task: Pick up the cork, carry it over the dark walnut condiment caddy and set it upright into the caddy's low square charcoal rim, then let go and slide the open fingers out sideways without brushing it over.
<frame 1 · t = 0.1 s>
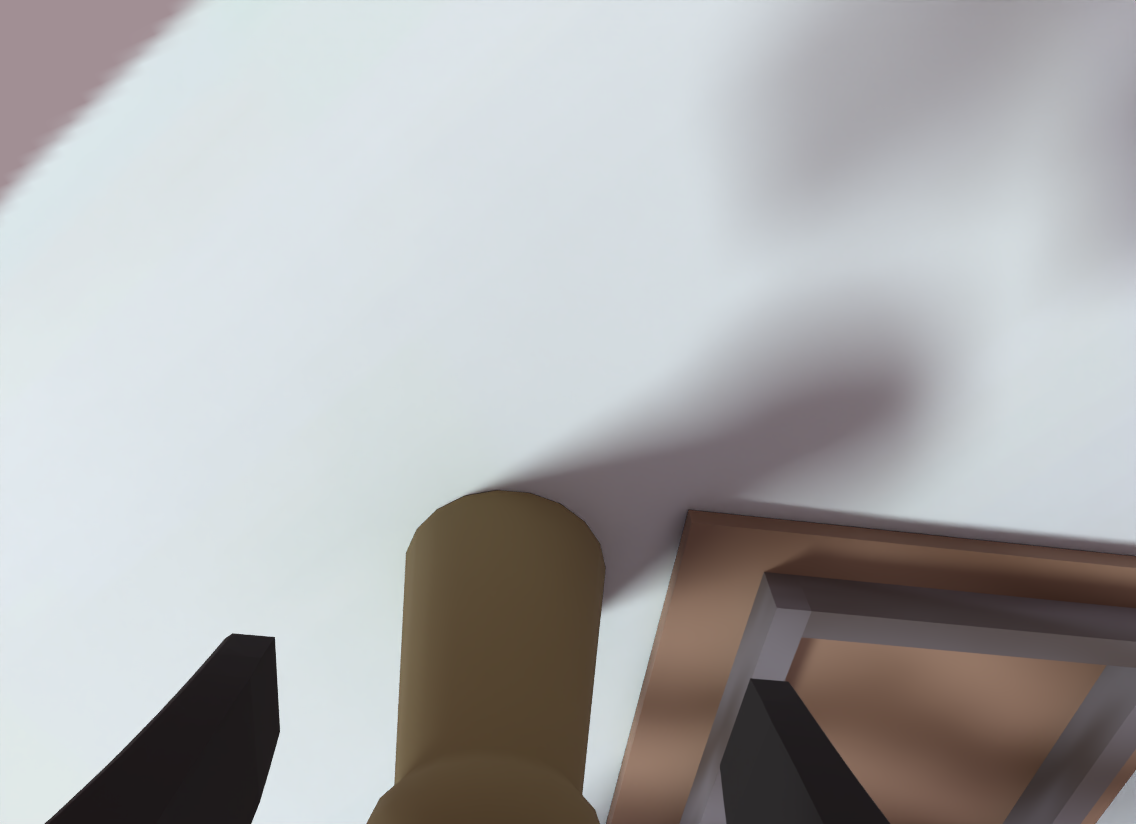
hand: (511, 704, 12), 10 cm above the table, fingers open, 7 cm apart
cork: (505, 568, 24), on the table
caddy: (893, 722, 27), on the table
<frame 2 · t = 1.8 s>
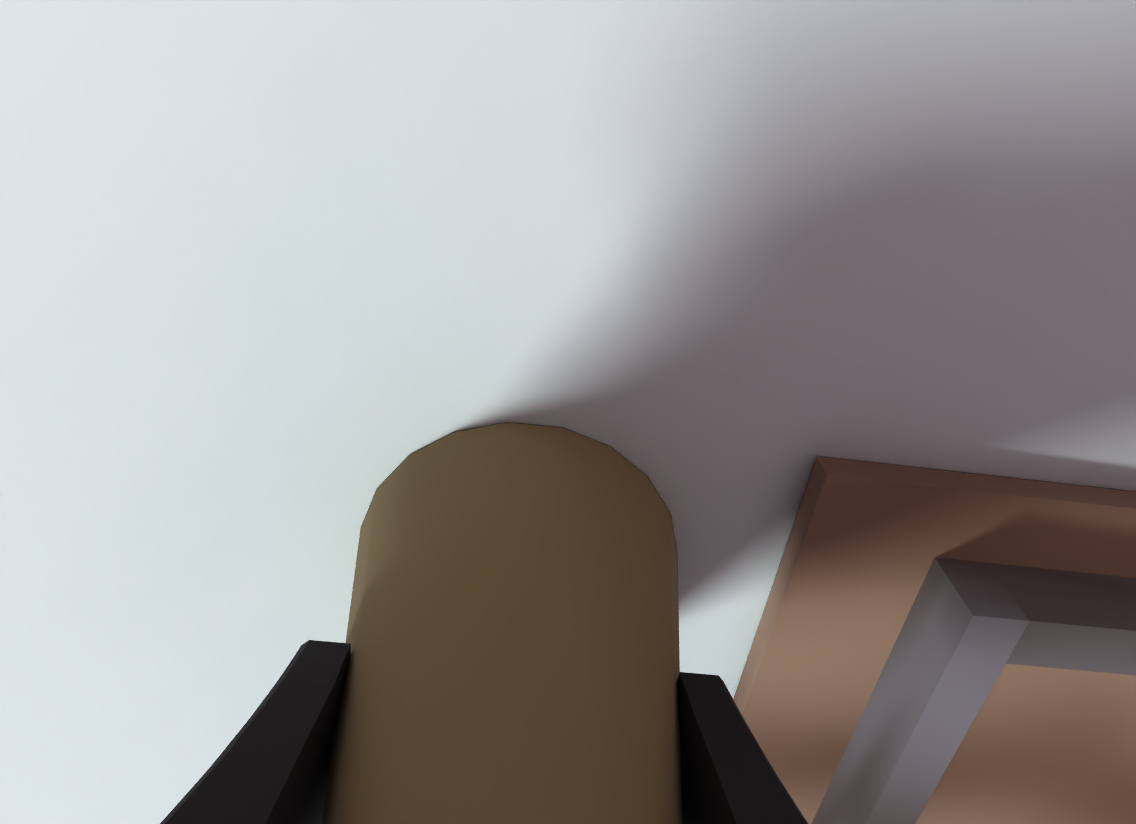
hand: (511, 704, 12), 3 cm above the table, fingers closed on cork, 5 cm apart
cork: (519, 553, 15), on the table, touching gripper
caddy: (1086, 782, 19), on the table
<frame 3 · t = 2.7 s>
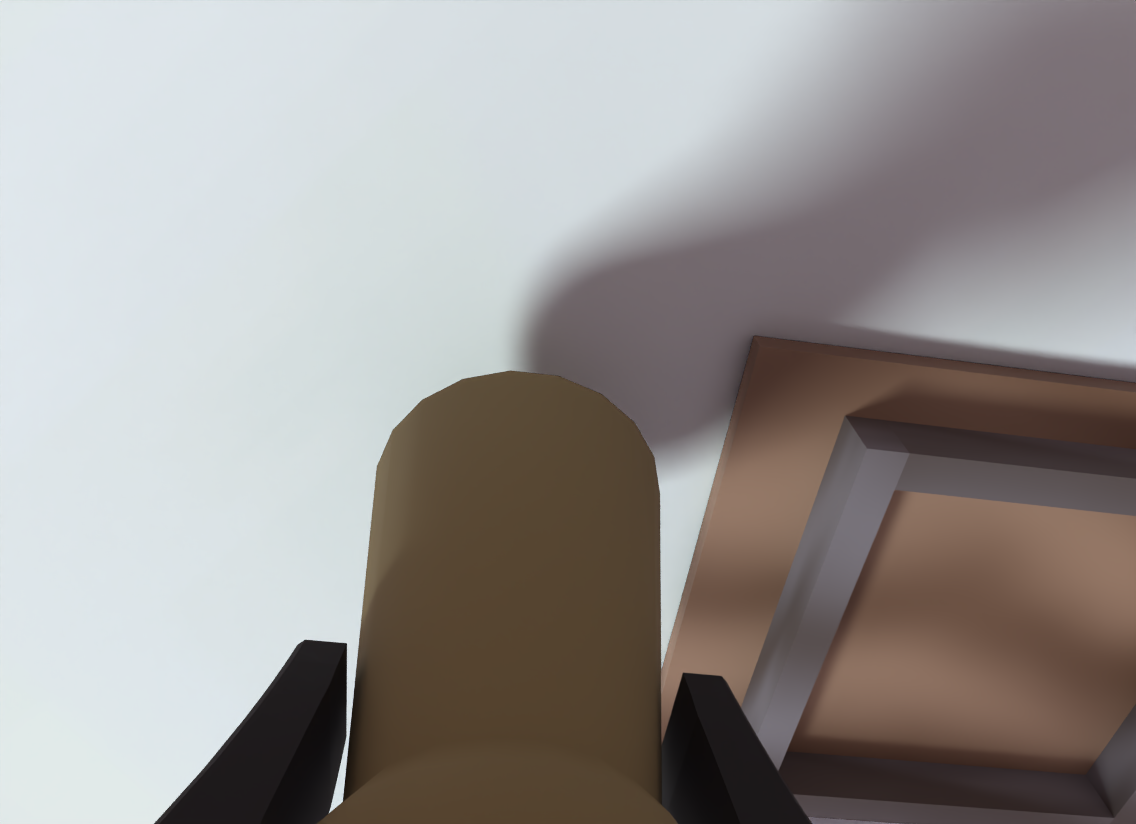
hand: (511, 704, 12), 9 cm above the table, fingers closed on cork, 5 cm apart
cork: (518, 493, 17), point 3 cm above the table, touching gripper
caddy: (983, 621, 23), on the table
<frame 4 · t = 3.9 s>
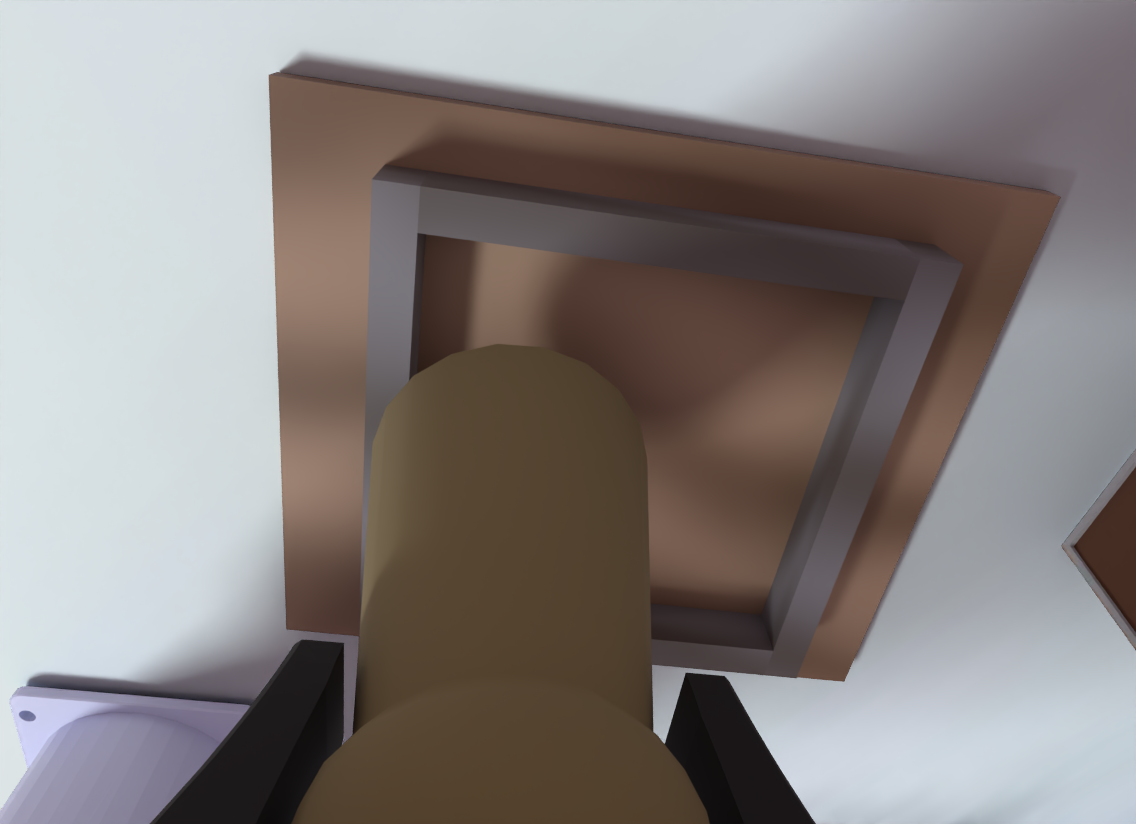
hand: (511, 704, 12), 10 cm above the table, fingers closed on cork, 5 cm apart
cork: (510, 464, 17), point 4 cm above the table, touching gripper
caddy: (616, 432, 22), on the table
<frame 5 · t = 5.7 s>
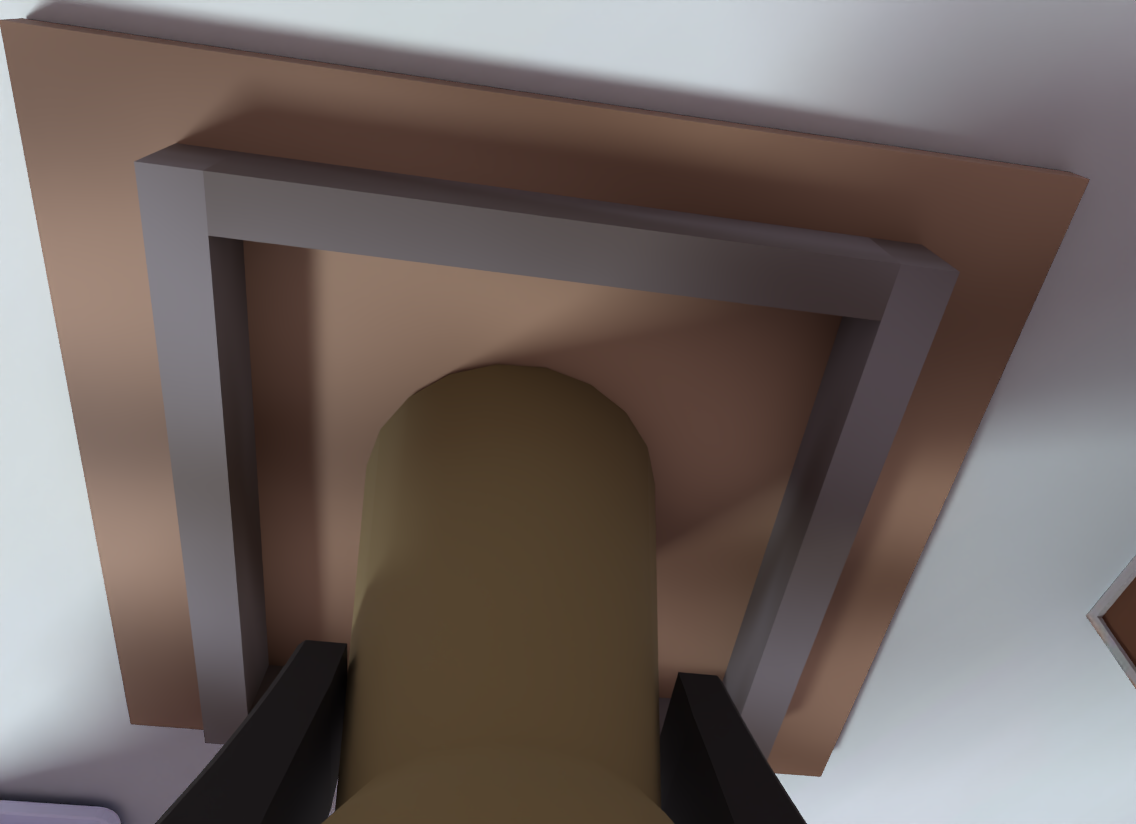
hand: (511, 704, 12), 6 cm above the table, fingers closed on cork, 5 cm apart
cork: (511, 488, 17), resting on caddy, touching gripper
caddy: (523, 485, 17), on the table
when the fingers open (6 cm above the table, at t = 6.1 s): cork stays where it is, resting on caddy.
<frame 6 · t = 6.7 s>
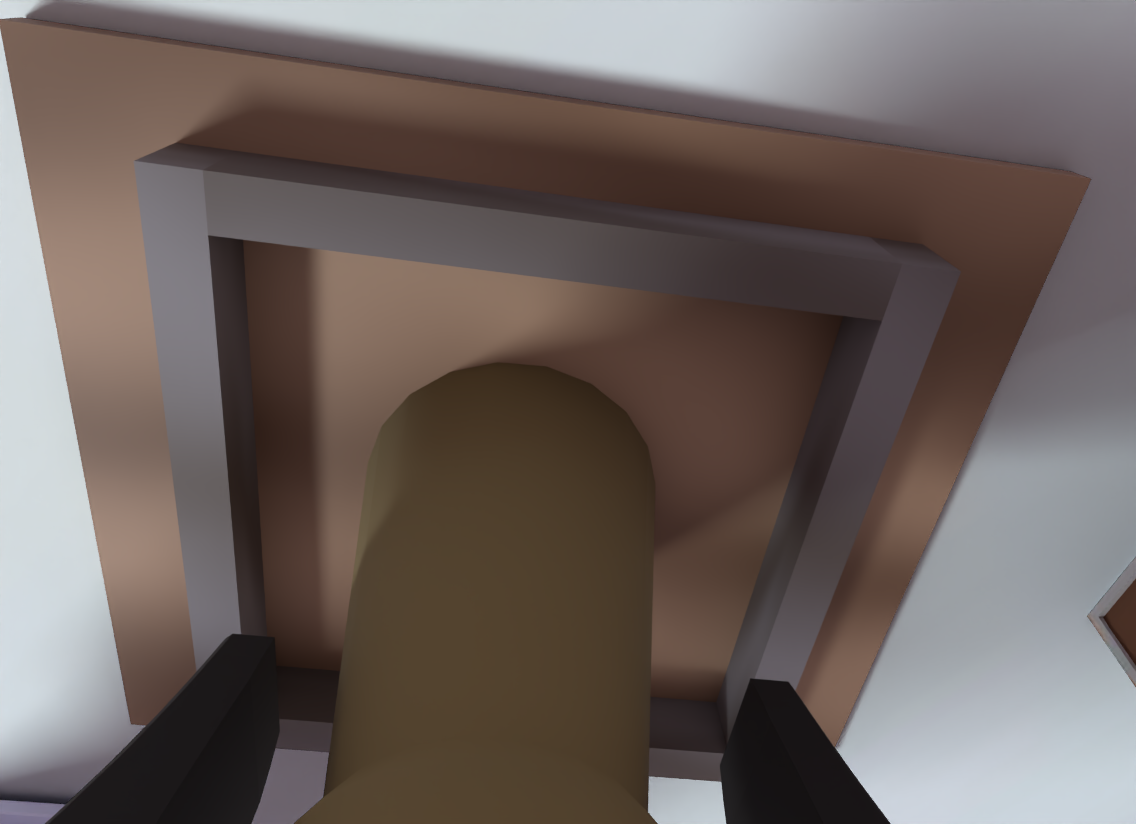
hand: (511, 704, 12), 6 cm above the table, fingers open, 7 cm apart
cork: (512, 486, 17), resting on caddy
caddy: (523, 485, 17), on the table
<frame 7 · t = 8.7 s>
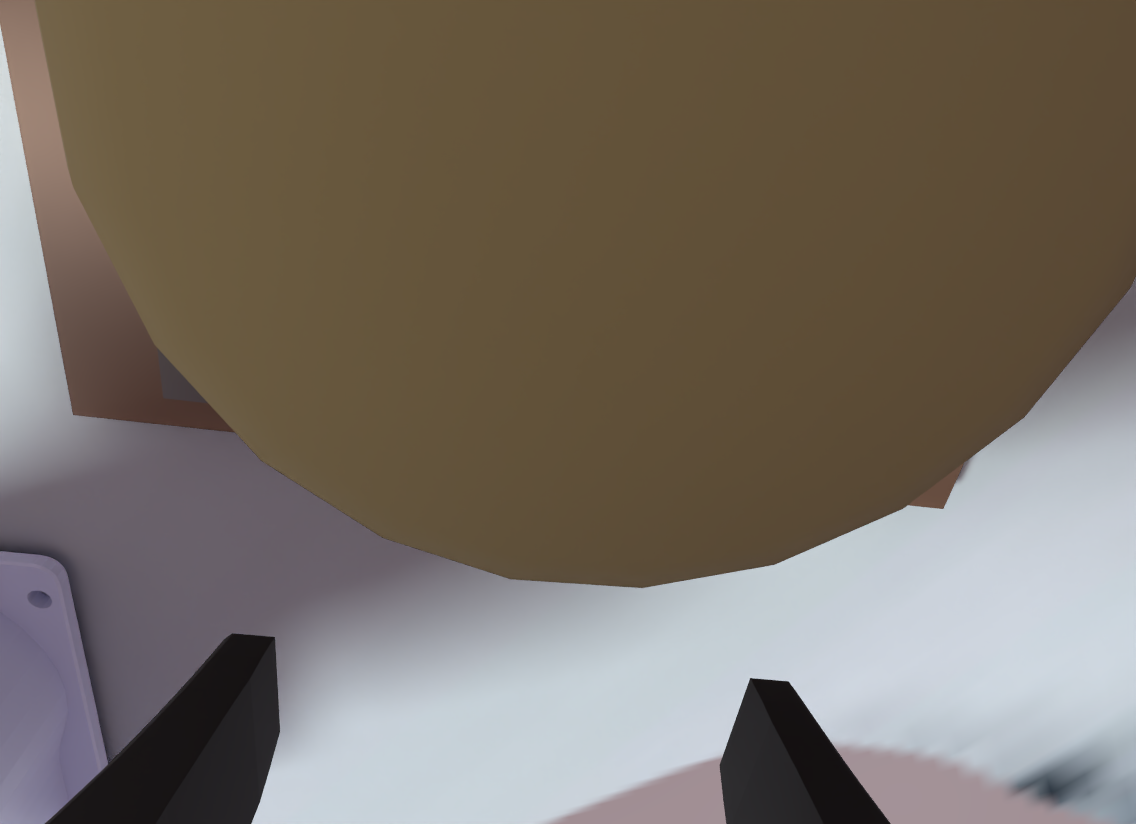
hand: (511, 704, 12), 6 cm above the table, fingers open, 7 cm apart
cork: (572, 20, 12), resting on caddy
caddy: (585, 36, 13), on the table
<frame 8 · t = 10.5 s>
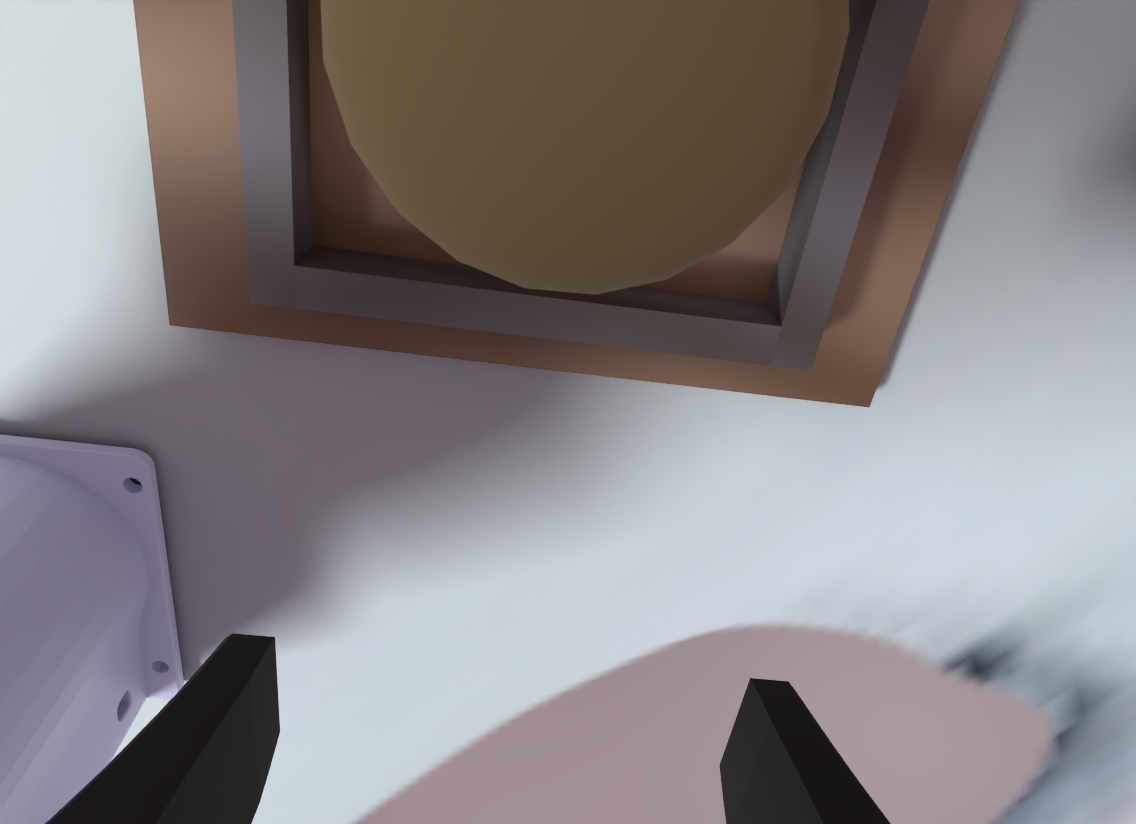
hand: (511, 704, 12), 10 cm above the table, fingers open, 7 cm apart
cork: (566, 8, 16), resting on caddy
caddy: (576, 21, 17), on the table
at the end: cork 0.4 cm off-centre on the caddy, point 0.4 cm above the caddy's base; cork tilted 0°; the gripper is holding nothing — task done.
